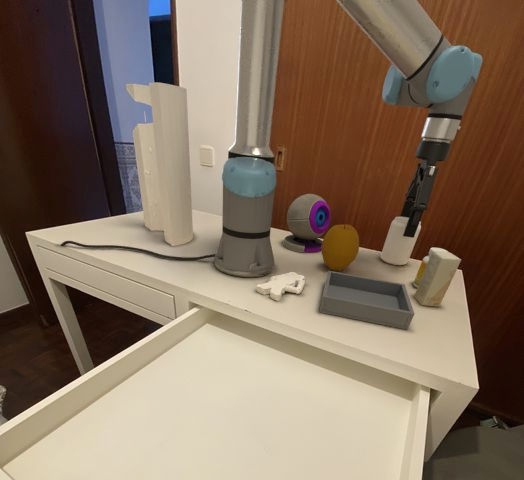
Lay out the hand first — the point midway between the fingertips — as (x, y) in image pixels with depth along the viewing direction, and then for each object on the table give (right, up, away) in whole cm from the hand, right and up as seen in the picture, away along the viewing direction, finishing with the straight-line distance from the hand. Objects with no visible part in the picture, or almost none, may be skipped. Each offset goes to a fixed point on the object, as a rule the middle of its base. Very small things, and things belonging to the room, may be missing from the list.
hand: (405, 230), depth 87 cm
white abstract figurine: (-36, -20, -17) cm, 45 cm away
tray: (-19, -24, -20) cm, 37 cm away
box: (-3, -23, -16) cm, 28 cm away
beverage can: (-1, -7, +6) cm, 9 cm away
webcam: (-28, -1, +10) cm, 30 cm away
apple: (-21, -12, -4) cm, 25 cm away
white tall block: (-69, +2, +8) cm, 70 cm away
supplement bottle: (+1, -18, -9) cm, 20 cm away
